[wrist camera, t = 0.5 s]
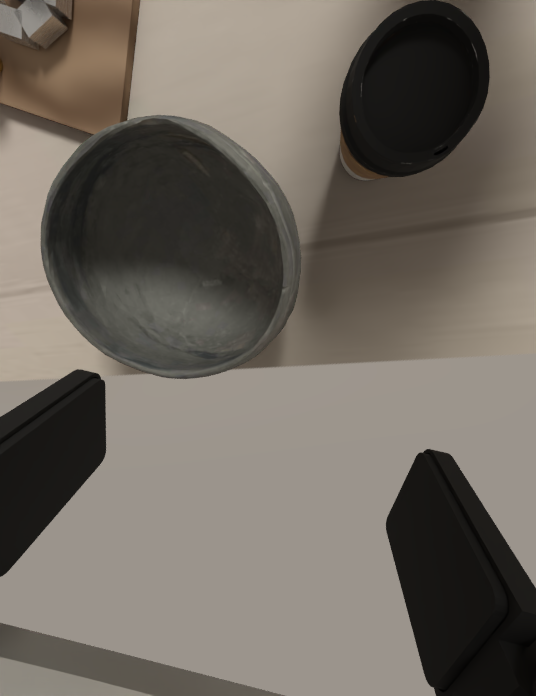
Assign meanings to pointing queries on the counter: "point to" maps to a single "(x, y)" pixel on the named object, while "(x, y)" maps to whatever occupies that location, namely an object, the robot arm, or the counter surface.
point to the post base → (75, 67)
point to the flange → (35, 22)
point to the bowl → (170, 247)
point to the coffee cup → (412, 91)
